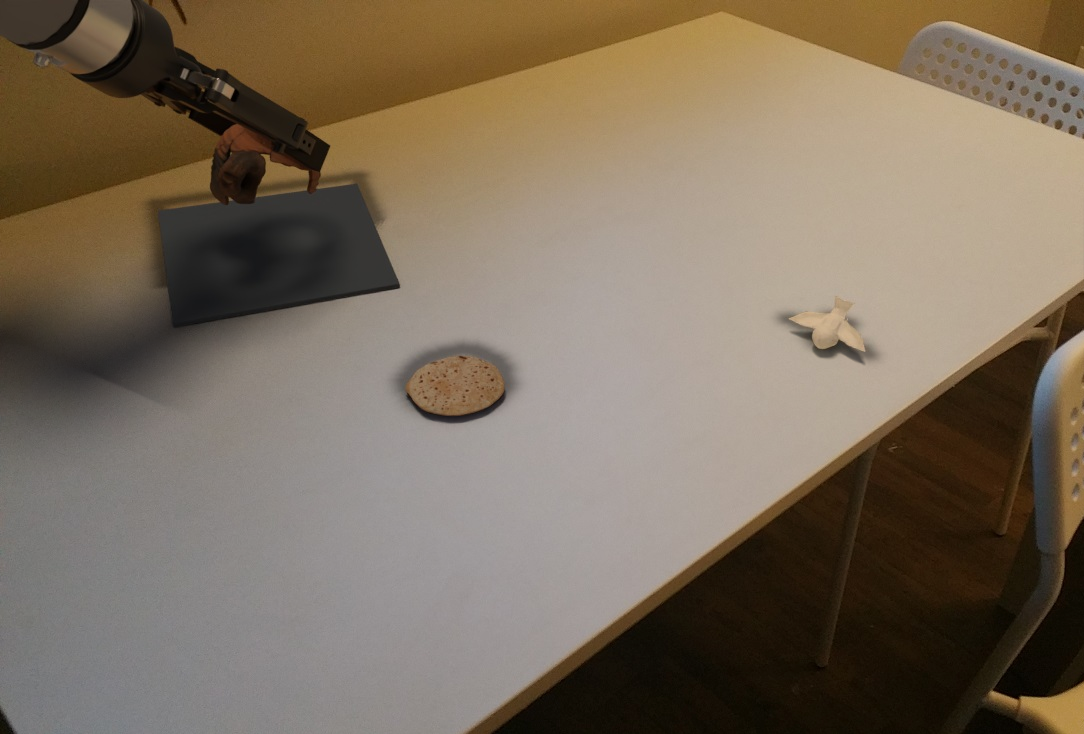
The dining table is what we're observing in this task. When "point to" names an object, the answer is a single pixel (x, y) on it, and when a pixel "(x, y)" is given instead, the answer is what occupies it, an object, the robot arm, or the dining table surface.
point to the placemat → (271, 254)
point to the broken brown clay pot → (247, 165)
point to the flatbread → (456, 386)
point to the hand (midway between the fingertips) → (281, 145)
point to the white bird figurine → (831, 326)
